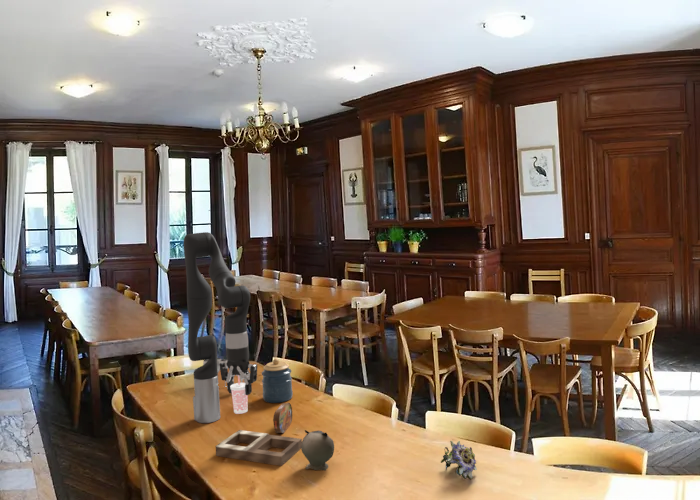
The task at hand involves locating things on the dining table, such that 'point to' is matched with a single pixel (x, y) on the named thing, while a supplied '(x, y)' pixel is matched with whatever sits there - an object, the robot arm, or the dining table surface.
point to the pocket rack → (258, 447)
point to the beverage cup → (239, 397)
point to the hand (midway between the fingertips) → (239, 393)
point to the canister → (277, 382)
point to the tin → (282, 418)
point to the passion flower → (461, 459)
